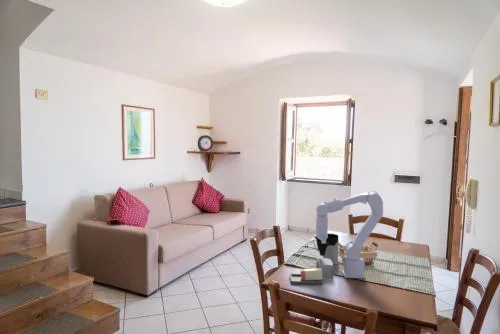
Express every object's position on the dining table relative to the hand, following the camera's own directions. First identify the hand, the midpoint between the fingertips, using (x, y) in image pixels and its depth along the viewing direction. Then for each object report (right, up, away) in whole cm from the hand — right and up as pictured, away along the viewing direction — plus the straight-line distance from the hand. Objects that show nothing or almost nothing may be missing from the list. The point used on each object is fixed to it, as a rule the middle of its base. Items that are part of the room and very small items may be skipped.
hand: (321, 252), depth 165 cm
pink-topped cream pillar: (-7, -10, -11) cm, 16 cm away
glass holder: (+6, -9, +15) cm, 19 cm away
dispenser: (+1, -10, -2) cm, 10 cm away
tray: (-10, -11, -10) cm, 18 cm away
